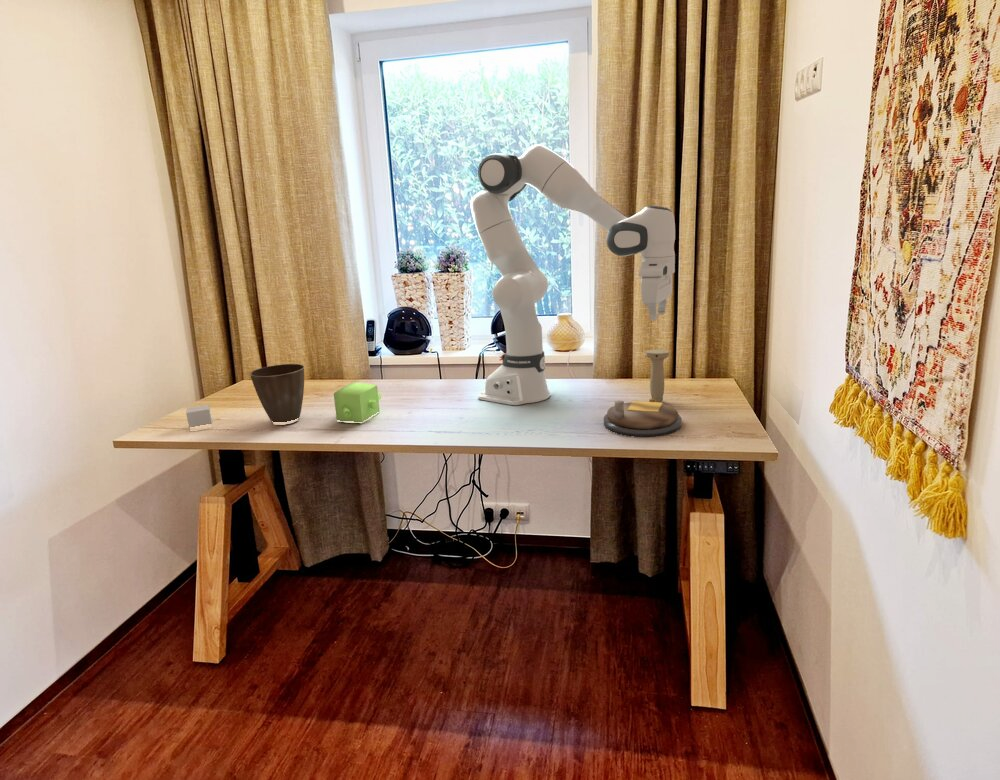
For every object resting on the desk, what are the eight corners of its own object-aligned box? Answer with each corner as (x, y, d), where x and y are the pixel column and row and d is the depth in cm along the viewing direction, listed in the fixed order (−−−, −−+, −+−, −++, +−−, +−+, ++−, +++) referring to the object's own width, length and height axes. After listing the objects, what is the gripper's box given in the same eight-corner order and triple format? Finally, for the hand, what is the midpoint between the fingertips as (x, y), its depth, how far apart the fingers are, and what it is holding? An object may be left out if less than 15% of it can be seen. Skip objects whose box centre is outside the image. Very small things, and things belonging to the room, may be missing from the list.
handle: (667, 404, 178) (668, 353, 174) (644, 403, 180) (645, 353, 176) (668, 399, 182) (669, 349, 178) (646, 399, 184) (646, 349, 180)
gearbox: (358, 432, 173) (355, 399, 170) (328, 428, 176) (324, 397, 173) (389, 410, 190) (386, 381, 187) (360, 408, 193) (357, 378, 190)
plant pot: (249, 424, 184) (240, 372, 180) (294, 411, 195) (286, 361, 190) (276, 433, 174) (266, 378, 170) (321, 419, 185) (314, 366, 181)
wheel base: (593, 432, 160) (593, 419, 159) (618, 407, 178) (618, 396, 177) (672, 441, 151) (672, 427, 150) (689, 414, 169) (690, 401, 168)
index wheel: (650, 403, 174) (650, 384, 173) (692, 420, 158) (693, 400, 157) (594, 414, 168) (594, 394, 167) (633, 433, 152) (632, 412, 150)
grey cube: (212, 423, 188) (208, 404, 187) (212, 428, 183) (208, 409, 181) (190, 426, 186) (186, 407, 184) (190, 432, 181) (186, 412, 179)
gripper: (655, 263, 181) (655, 310, 185) (636, 271, 163) (636, 323, 167) (677, 263, 178) (677, 311, 182) (660, 270, 161) (660, 323, 164)
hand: (657, 317), depth 174 cm, fingers open, 8 cm apart
